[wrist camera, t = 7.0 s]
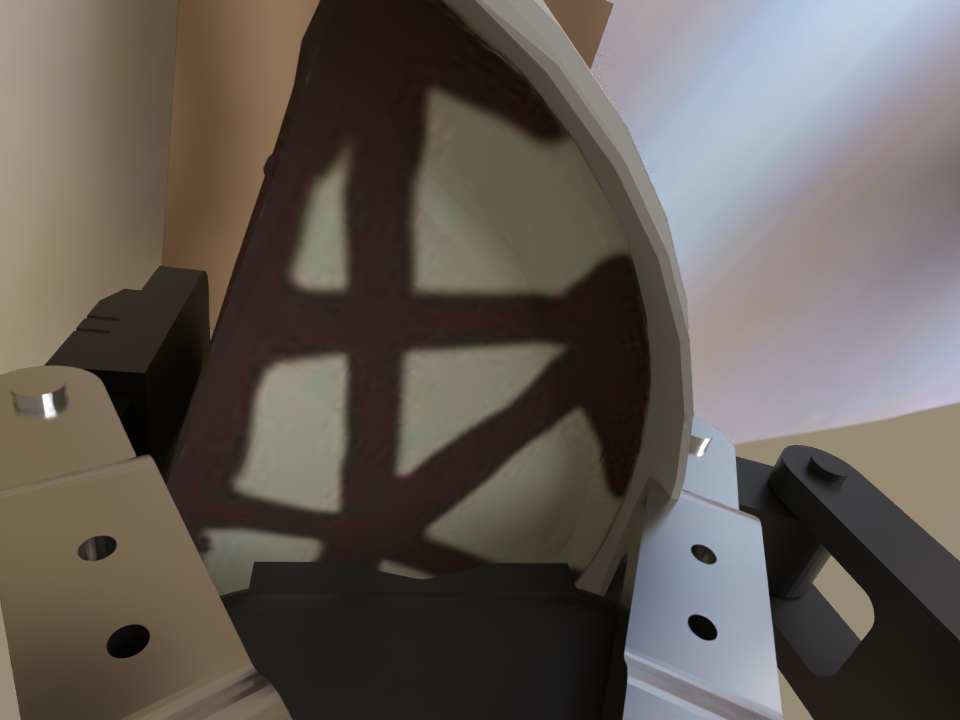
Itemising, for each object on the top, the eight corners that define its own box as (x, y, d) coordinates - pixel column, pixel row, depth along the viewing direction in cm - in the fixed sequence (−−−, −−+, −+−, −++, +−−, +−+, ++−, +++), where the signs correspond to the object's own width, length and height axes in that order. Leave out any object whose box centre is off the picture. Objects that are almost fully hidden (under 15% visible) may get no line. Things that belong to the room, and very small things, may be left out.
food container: (404, 472, 19) (439, 867, 10) (197, 418, 16) (22, 863, 8) (619, 81, 14) (1026, 220, 5) (363, -73, 12) (362, -255, 3)
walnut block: (571, 2, 26) (613, 4, 21) (464, 326, 33) (480, 375, 29) (222, -135, 22) (189, -166, 17) (187, 271, 29) (158, 318, 25)
